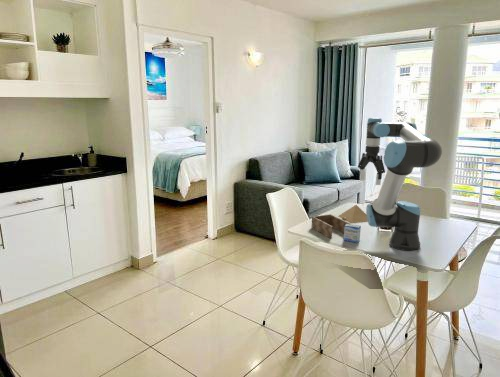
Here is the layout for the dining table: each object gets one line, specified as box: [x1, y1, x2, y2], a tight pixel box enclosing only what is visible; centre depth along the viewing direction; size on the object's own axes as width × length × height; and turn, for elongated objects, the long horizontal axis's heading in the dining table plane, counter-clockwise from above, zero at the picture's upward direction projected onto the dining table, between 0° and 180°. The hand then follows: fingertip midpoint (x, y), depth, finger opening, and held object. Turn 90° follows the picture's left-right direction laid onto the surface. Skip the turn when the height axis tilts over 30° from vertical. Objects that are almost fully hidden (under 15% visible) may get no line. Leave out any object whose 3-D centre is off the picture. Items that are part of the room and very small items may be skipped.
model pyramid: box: [337, 204, 368, 224], centre depth 246 cm, size 17×17×10 cm
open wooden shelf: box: [311, 213, 352, 239], centre depth 222 cm, size 20×13×7 cm, turn 23°
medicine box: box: [343, 223, 361, 244], centre depth 207 cm, size 8×4×9 cm, turn 63°
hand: (369, 182), depth 219 cm, fingers open, 13 cm apart
